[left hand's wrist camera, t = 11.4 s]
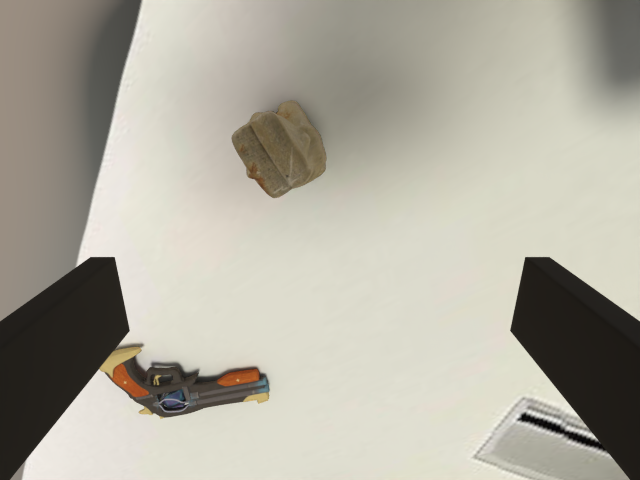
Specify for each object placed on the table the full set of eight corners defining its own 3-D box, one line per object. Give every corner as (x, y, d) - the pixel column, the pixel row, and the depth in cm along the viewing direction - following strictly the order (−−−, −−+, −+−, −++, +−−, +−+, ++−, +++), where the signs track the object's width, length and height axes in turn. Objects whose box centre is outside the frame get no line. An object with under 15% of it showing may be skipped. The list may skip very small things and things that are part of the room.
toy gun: (89, 361, 44) (115, 434, 47) (253, 332, 44) (270, 406, 47) (101, 349, 47) (125, 419, 49) (255, 322, 47) (272, 392, 49)
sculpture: (303, 91, 36) (293, 90, 22) (336, 161, 39) (346, 199, 25) (249, 120, 37) (207, 136, 23) (285, 186, 39) (265, 237, 25)
